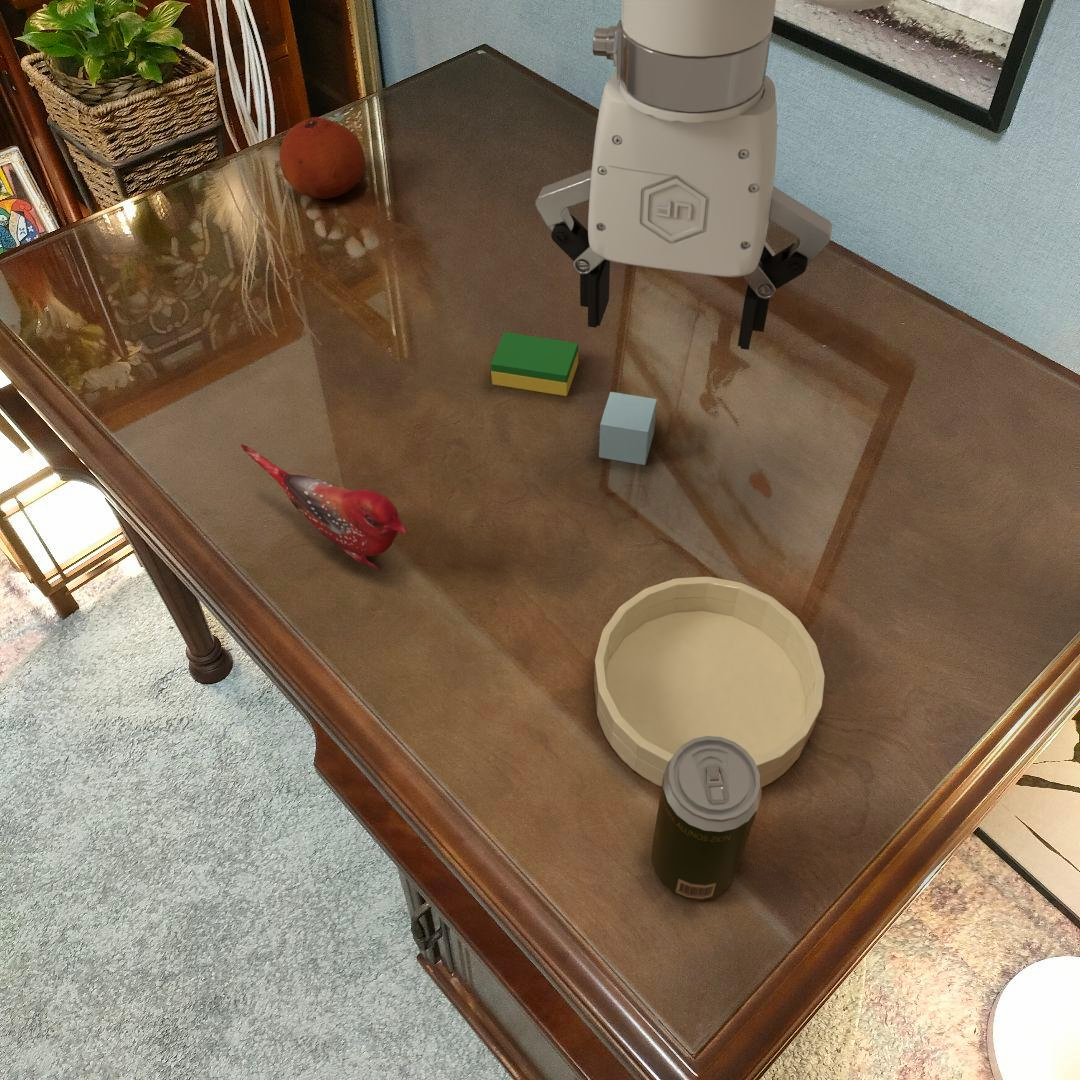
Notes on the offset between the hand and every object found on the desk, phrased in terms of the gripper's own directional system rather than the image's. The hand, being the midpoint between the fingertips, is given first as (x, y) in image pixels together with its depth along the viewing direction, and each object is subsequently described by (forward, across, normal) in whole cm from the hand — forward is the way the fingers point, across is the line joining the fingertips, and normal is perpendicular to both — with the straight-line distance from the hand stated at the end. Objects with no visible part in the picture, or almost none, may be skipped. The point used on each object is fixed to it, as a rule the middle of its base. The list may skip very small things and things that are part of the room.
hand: (671, 324), depth 66 cm
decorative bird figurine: (+20, -24, -8) cm, 33 cm away
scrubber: (+20, -14, +15) cm, 29 cm away
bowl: (+21, +6, -14) cm, 26 cm away
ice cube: (+20, -4, +9) cm, 23 cm away
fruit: (+20, -44, +39) cm, 62 cm away
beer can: (+21, +8, -26) cm, 34 cm away
